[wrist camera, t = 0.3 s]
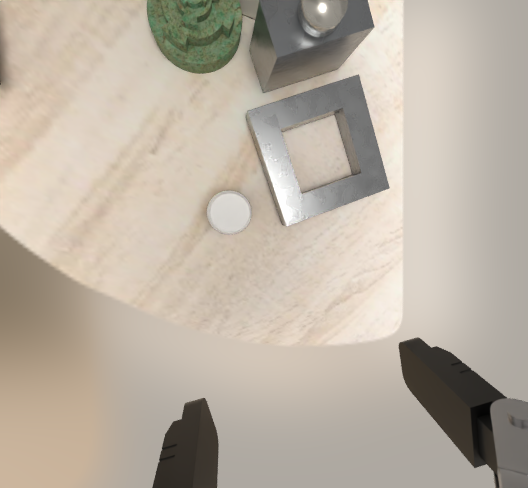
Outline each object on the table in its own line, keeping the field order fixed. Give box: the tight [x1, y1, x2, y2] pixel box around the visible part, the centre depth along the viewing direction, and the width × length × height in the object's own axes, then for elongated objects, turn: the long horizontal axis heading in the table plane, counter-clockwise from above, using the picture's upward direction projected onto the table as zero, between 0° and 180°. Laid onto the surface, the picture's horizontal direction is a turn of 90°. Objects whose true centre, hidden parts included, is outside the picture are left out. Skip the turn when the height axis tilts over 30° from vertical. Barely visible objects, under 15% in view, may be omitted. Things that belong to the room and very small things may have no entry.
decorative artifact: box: [147, 0, 242, 73], centre depth 32 cm, size 10×7×10 cm
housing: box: [246, 0, 389, 226], centre depth 33 cm, size 21×14×11 cm, turn 19°
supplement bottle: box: [207, 190, 252, 234], centre depth 34 cm, size 5×5×8 cm
